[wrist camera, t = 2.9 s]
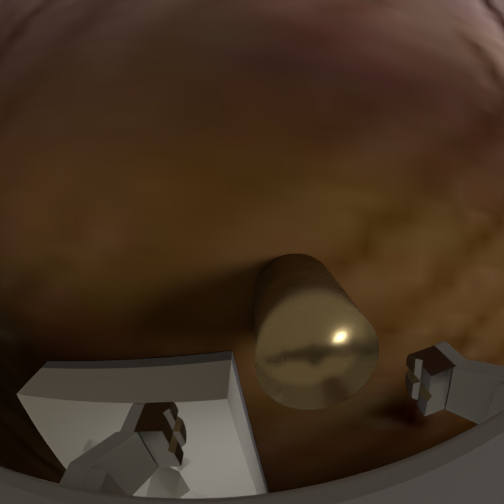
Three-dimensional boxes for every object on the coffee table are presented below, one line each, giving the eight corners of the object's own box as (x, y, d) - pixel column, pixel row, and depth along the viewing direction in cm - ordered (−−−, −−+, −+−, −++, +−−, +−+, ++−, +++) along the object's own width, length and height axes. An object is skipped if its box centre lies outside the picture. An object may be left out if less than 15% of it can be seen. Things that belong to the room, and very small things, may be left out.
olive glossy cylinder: (329, 247, 16) (378, 293, 10) (336, 321, 17) (376, 395, 11) (247, 260, 17) (244, 317, 10) (260, 334, 18) (265, 417, 11)
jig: (232, 350, 18) (227, 398, 13) (276, 518, 23) (278, 552, 18) (47, 361, 18) (16, 394, 14) (148, 517, 23) (140, 547, 19)
